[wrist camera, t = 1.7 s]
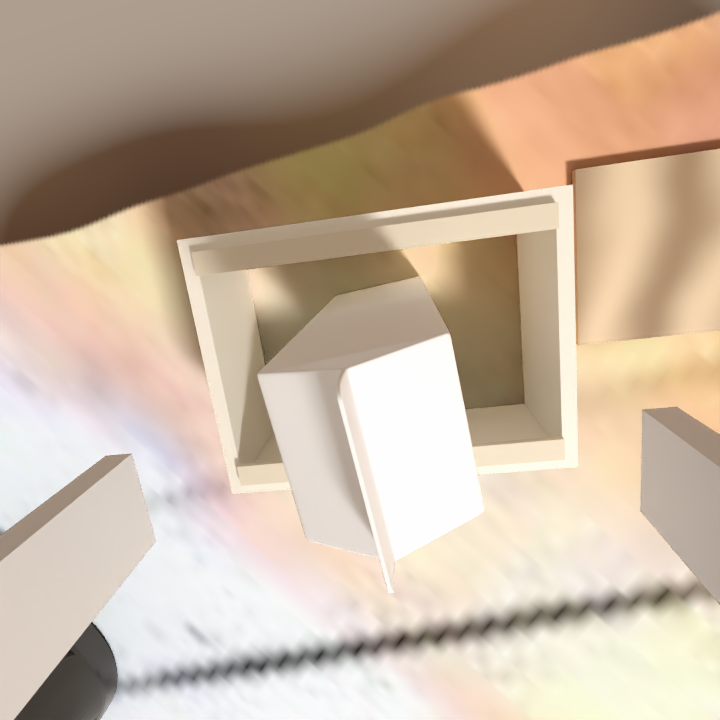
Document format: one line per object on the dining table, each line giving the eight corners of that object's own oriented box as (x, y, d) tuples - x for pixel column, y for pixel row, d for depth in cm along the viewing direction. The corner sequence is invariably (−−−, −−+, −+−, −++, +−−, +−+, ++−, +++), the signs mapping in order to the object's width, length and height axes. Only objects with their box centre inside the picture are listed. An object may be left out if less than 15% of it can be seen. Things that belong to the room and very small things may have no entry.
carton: (268, 437, 36) (229, 497, 28) (229, 238, 32) (173, 240, 24) (536, 413, 34) (580, 470, 25) (527, 197, 30) (576, 183, 22)
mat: (575, 343, 32) (578, 345, 31) (571, 170, 29) (575, 169, 29) (750, 324, 31) (757, 326, 30) (764, 143, 28) (771, 141, 28)
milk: (355, 376, 34) (279, 619, 13) (334, 293, 33) (208, 412, 11) (439, 359, 33) (508, 588, 12) (422, 273, 32) (464, 360, 10)
